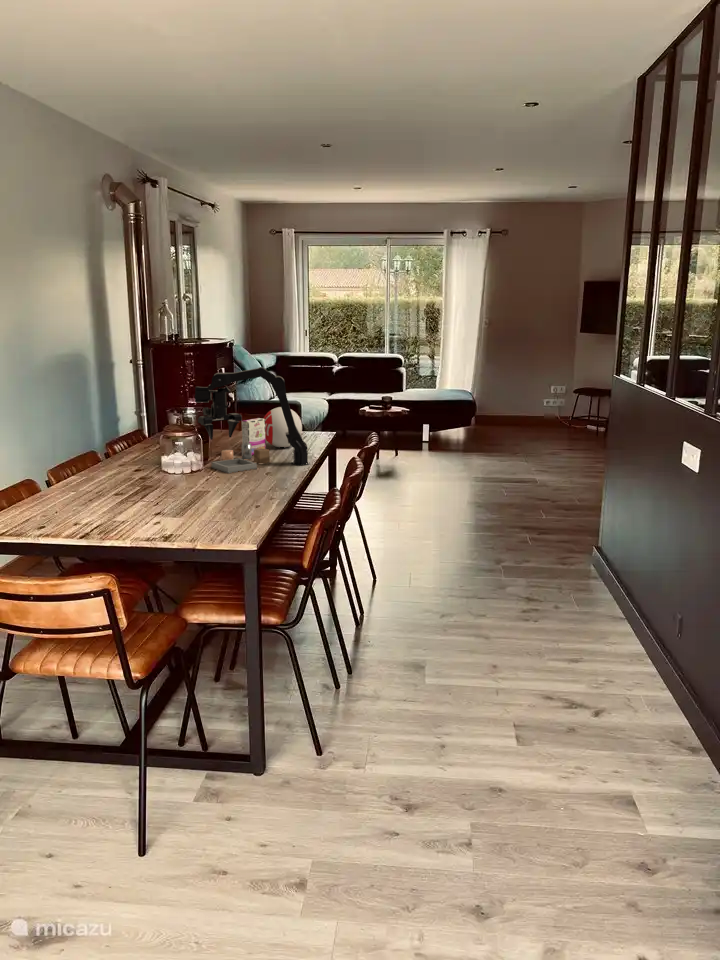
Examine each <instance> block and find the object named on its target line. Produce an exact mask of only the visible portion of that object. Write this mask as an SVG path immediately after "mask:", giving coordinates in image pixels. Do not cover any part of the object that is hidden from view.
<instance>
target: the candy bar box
mask: <svg viewBox="0 0 720 960" xmlns="http://www.w3.org/2000/svg"><path fill="white" fill-rule="evenodd" d="M241 437H242V439H241V441H242V443H241V444H243V443H251V449H252V455H253V456H254V449H261V448H264V449H267V444H266V443H267V441H266V437H265V419H264V418H260V417H257V418H251V419H246V420H245V419H244V420H242V421H241Z"/></svg>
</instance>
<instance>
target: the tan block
mask: <svg viewBox="0 0 720 960" xmlns="http://www.w3.org/2000/svg"><path fill="white" fill-rule="evenodd" d="M230 459H235V458H234V450H232V449H223V450H221V461H223V460H230Z"/></svg>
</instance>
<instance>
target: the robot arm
mask: <svg viewBox="0 0 720 960" xmlns="http://www.w3.org/2000/svg"><path fill="white" fill-rule="evenodd" d="M256 378H262V379H263V380H264V381H265V382H267V383H268V384H270V385H271V388H272V389H273V391H274V393H275V395H276V397H277V398H278V401H279V404H280V407H281V408H282V411H283V414H284V418H285V421H286V424H287V427H288V432H286V433H285V434H286V437H287V439H288V444H289V443H290V445H291V446H290V447H292V448H293V457H292V458H293V461H291V462H290V464H291V463H293V464H292V465H295V464H296V465H295V466H298V465H300V466H302V465H301V464H306V463H308V444H307V443H306V442H305V441H304V440H303V437H302V434H301V435H300V433H299V431H298V429H297V427H296V425H295V422H294V419H293V416H292V413H291V410H292V409H291V407H290V403H289V400H288V396H287V390H286V381H285V379H284V378H283V377H282V376H280V375H275V374H274V373H272V372H271V371H269V370H267V369H266V368H265V367H263V366H261V367H260V366H259V367H256V368H252V369H247V370H241V371H235V372H216V373H214V375H212V378H211V383H210V384H209V385H208V386H195V389H194V391H195V392H194V402H195V403H197V404H199V403H200V404H201V403H202V404H203V403H205V404H207V403H209V402H210V401H212V404H211V405H210V407H211V408H209V407H207V406H206V407H203V408H202V415H201V416H198V418H197V423H198V424H200V425H201V426H204V428H205V429H206V432H207V434H208V437H209V439H210V440H214V439H213V438H214V424H212V423H213V422H220V421H221V422H223V421H227V424H228V437H229V438H232V436H233V433H234V431H235V429H236V427H237V425H239V424H240V422H242V421H243V415H241V413H236V412H232V413H227V408H229V404H227V393H230V392H231V389H229V388H228V385H230V384H233V383H234V382H239V381H240V382H241V381H245V380H250V379H256ZM216 388H217V389H216ZM214 389H215V390H214Z"/></svg>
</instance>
